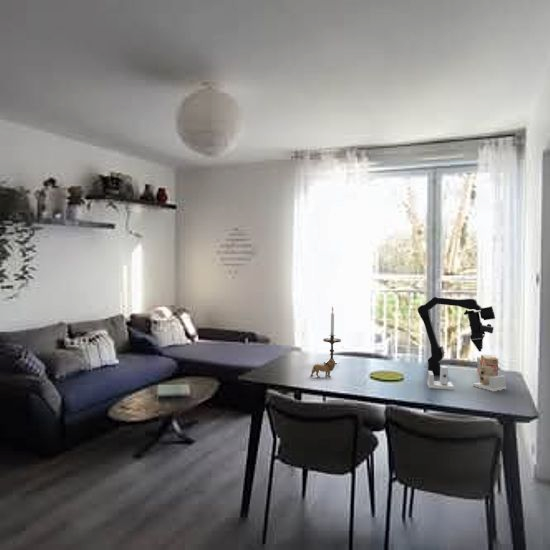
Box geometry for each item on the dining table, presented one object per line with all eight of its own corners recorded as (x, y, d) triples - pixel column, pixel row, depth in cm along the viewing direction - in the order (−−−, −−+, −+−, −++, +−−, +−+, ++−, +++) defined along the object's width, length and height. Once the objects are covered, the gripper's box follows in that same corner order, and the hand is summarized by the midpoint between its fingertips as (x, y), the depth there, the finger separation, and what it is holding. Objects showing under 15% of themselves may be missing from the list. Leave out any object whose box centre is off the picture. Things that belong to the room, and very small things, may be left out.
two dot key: (479, 383, 241) (479, 367, 241) (487, 381, 244) (487, 366, 244) (484, 384, 238) (484, 368, 238) (492, 383, 242) (493, 367, 241)
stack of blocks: (476, 373, 275) (477, 351, 275) (488, 373, 274) (489, 352, 274) (485, 381, 254) (485, 358, 254) (497, 382, 253) (498, 358, 253)
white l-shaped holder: (472, 386, 242) (472, 373, 242) (485, 384, 247) (485, 371, 247) (493, 391, 232) (493, 378, 232) (506, 389, 237) (506, 376, 237)
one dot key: (446, 381, 243) (446, 365, 243) (447, 384, 237) (448, 368, 237) (439, 381, 244) (440, 365, 244) (441, 383, 238) (441, 367, 238)
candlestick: (320, 361, 302) (321, 305, 302) (336, 360, 305) (337, 305, 304) (326, 364, 292) (327, 306, 291) (343, 364, 294) (344, 306, 294)
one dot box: (450, 384, 245) (451, 372, 245) (453, 389, 235) (453, 376, 235) (427, 383, 247) (427, 370, 247) (428, 387, 238) (429, 374, 237)
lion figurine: (332, 374, 264) (332, 358, 264) (336, 376, 259) (337, 360, 259) (307, 376, 259) (308, 359, 259) (312, 378, 254) (312, 361, 254)
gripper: (489, 320, 249) (496, 350, 247) (491, 317, 265) (497, 346, 264) (467, 324, 254) (473, 353, 252) (470, 320, 270) (476, 348, 269)
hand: (480, 350), depth 259 cm, fingers open, 9 cm apart
